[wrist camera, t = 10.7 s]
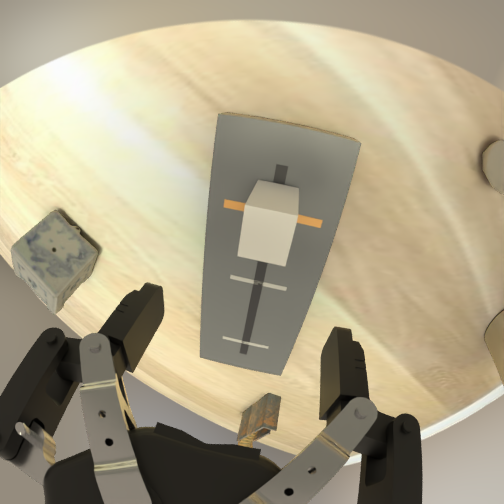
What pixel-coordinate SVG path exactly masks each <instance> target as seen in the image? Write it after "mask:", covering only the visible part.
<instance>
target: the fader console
mask: <svg viewBox="0 0 504 504" xmlns="http://www.w3.org/2000/svg"><path fill="white" fill-rule="evenodd" d="M360 146H361V143H360V142H359V141H357V140H356V139H354V138H351V137H347V136H344V135H340V134H336V133H333V132H329V131H325V130H321V129H316V128H312V127H308V126H303V125H299V124H294V123H289V122H284V121H279V120H273V119H268V118H262V117H256V116H249V115H242V114H235V113H221V114H218V120H217V127H216V135H215V143H214V152H213V161H212V170H211V180H210V190H209V200H208V212H207V224H206V237H205V250H204V266H203V283H202V304H201V330H200V357H201V358H204V359H208V360H212V361H216V362H220V363H224V364H228V365H232V366H236V367H240V368H245V369H249V370H254V371H259V372H264V373H269V374H274V375H279V376H281V374H282V372H283V369H284V367H285V365H286V363H287V360H288V358H289V356H290V353H291V351H292V349H293V346H294V344H295V341H296V339H297V337H298V334H299V332H300V329H301V327H302V324H303V322H304V319H305V317H306V314H307V312H308V309H309V306H310V304H311V301H312V298H313V296H314V293H315V290H316V288H317V285H318V282H319V280H320V277H321V274H322V271H323V268H324V266H325V263H326V260H327V257H328V254H329V251H330V248H331V245H332V242H333V239H334V236H335V233H336V230H337V227H338V224H339V220H340V217H341V214H342V211H343V207H344V204H345V201H346V197H347V194H348V190H349V187H350V183H351V180H352V176H353V173H354V169H355V165H356V161H357V158H358V154H359V150H360ZM258 180H263V181H268V182H273V183H277V184H282V185H287V186H291V187H296V188H299V207H298V219H297V223H296V227H295V231H294V235H293V239H292V243H291V247H290V250H289V254H288V258H287V262H286V266H280V265H276V264H271V263H266V262H262V261H257V260H253V259H248V258H244V257H239V256H237V255H238V248H239V241H240V235H241V228H242V221H243V215H244V208H245V204H246V202H247V200H248V198H249V196H250V194H251V192H252V191H253V189H254V187H255V185H256V183H257V181H258Z"/></svg>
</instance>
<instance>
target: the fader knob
mask: <svg viewBox="0 0 504 504" xmlns="http://www.w3.org/2000/svg"><path fill="white" fill-rule="evenodd" d="M298 207H299V188H296V187H291V186H287V185H282V184H277V183H273V182H268V181H263V180H258V181H257V183H256V185H255V187H254V189H253V191H252V192H251V194H250V196H249V198H248V200H247V202H246V204H245V208H244V215H243V221H242V228H241V235H240V241H239V248H238V255H237V256H239V257H244V258H248V259H253V260H257V261H262V262H266V263H271V264H276V265H280V266H286V262H287V258H288V254H289V250H290V247H291V243H292V239H293V235H294V231H295V227H296V223H297V219H298Z"/></svg>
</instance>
